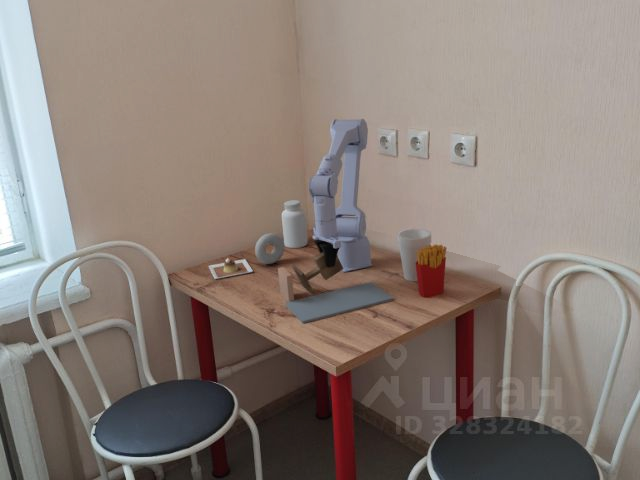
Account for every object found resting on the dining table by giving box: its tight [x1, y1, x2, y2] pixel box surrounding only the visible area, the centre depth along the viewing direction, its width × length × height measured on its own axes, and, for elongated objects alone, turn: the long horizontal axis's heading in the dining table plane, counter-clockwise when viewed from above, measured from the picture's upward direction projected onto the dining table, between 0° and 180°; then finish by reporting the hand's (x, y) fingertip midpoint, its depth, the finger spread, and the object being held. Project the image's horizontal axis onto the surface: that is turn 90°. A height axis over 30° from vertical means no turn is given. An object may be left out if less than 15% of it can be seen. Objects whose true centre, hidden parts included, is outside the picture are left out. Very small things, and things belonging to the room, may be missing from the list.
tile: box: [277, 266, 295, 302], centre depth 178 cm, size 2×7×8 cm, turn 23°
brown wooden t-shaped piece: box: [292, 252, 344, 296], centre depth 181 cm, size 12×7×7 cm, turn 112°
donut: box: [254, 232, 285, 265], centre depth 204 cm, size 10×3×10 cm, turn 122°
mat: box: [284, 281, 394, 324], centre depth 174 cm, size 26×13×1 cm, turn 113°
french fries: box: [416, 244, 447, 299], centre depth 173 cm, size 9×4×13 cm, turn 121°
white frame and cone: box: [208, 256, 254, 280], centre depth 202 cm, size 12×12×5 cm
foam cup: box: [397, 228, 432, 282], centre depth 185 cm, size 10×9×13 cm
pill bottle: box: [281, 199, 308, 249], centre depth 218 cm, size 8×8×15 cm
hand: (329, 265), depth 182 cm, fingers closed on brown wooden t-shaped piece
